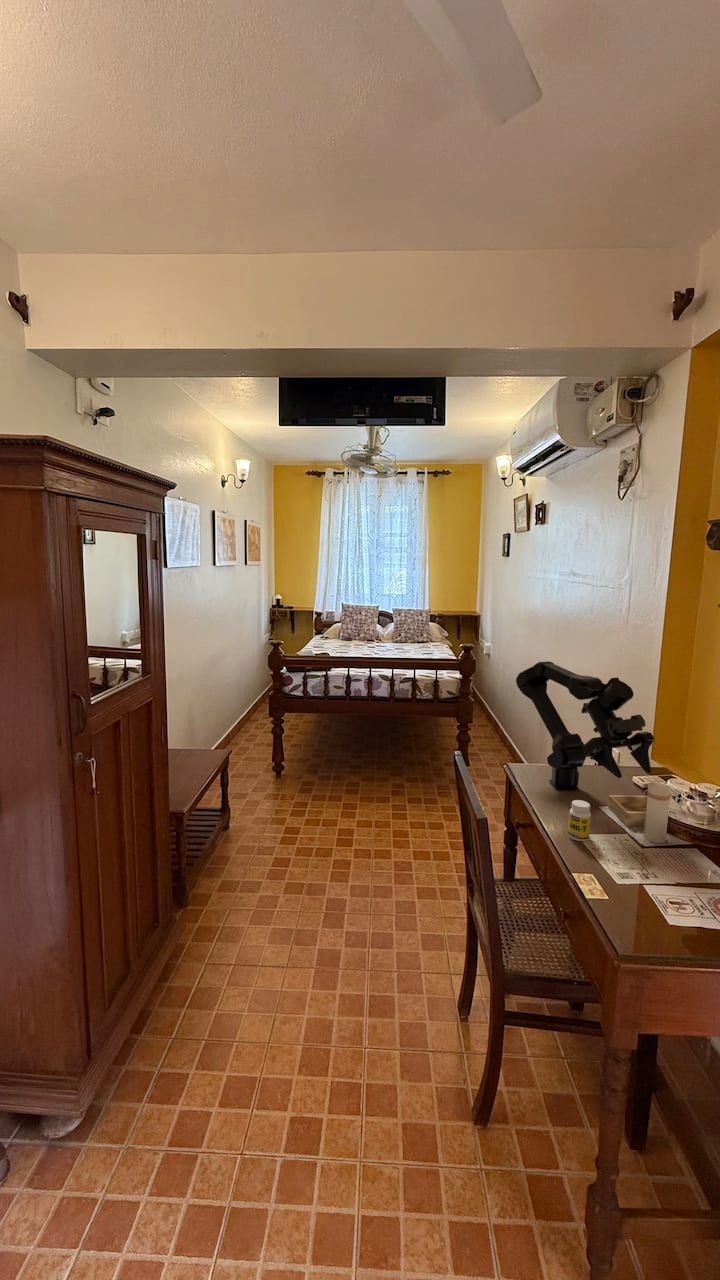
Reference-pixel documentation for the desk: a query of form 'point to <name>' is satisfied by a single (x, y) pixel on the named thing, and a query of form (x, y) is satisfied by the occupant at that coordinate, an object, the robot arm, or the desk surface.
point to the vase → (657, 812)
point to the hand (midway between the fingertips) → (635, 775)
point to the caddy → (629, 809)
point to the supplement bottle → (579, 821)
